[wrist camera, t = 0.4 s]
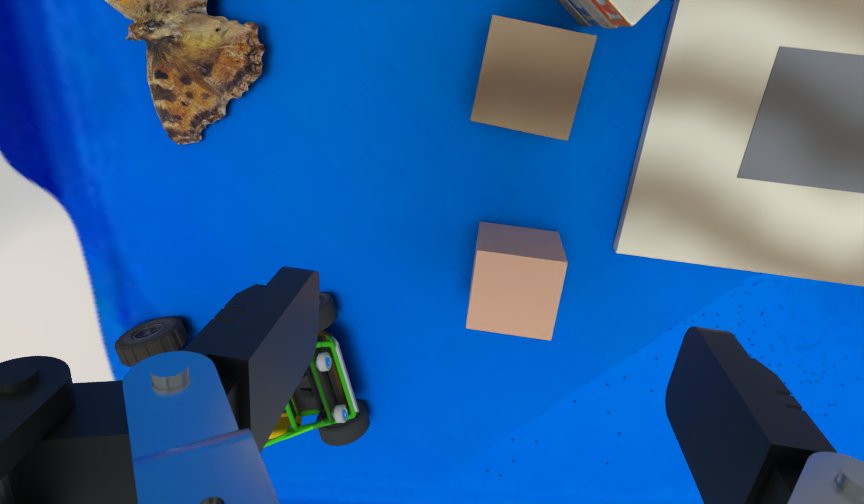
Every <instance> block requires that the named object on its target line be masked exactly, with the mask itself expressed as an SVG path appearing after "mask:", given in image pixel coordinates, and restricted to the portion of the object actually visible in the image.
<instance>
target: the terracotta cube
mask: <svg viewBox="0 0 864 504" xmlns="http://www.w3.org/2000/svg"><path fill="white" fill-rule="evenodd" d="M567 264H568V261H567V258H566V255H565V251H564V248H563V245H562V241H561V238H560V235H559V232H556V231H548V230H541V229H533V228H526V227H518V226H511V225H503V224H496V223H488V222H481V221H480V223H479V230H478V237H477V244H476V251H475V258H474V265H473V272H472V279H471V286H470V293H469V303H468V312H467V322H466V328H468V329H475V330H481V331H488V332H495V333H502V334H509V335H516V336H523V337H530V338H537V339H544V340H550V341H551V338H552V334H553V329H554V324H555V320H556V315H557V311H558V306H559V301H560V297H561V292H562V287H563V283H564V278H565V273H566V269H567Z"/></svg>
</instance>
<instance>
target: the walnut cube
mask: <svg viewBox="0 0 864 504" xmlns="http://www.w3.org/2000/svg"><path fill="white" fill-rule="evenodd" d="M596 39H597V36H595V35H590V34H585V33H580V32H575V31H570V30H565V29H560V28H556V27H551V26H546V25H541V24H536V23H531V22H526V21H521V20H516V19H511V18H506V17H501V16H496V15H492V20H491V25H490V29H489V34H488V39H487V44H486V48H485V53H484V58H483V62H482V67H481V72H480V77H479V81H478V86H477V91H476V96H475V100H474V105H473V110H472V114H471V119H470V121H475V122H480V123H484V124H489V125H494V126H499V127H503V128H508V129H513V130H518V131H523V132H527V133H532V134H537V135H542V136H547V137H551V138H556V139H561V140H566V141H568V137H569V134H570V130H571V127H572V123H573V120H574V116H575V113H576V109H577V106H578V102H579V99H580V95H581V92H582V88H583V85H584V81H585V78H586V74H587V71H588V67H589V64H590V60H591V57H592V53H593V50H594V46H595V43H596Z"/></svg>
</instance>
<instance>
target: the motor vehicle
mask: <svg viewBox="0 0 864 504" xmlns="http://www.w3.org/2000/svg"><path fill="white" fill-rule="evenodd" d="M337 316H338V313H337V310H336V306H335V303H334V300H333V297H332V295H330V294H328V293H325V292H319V320H318V339H317V345H316V349H315V353H314V356H313V358H312V360H311V362H310V364H309V366H308V368H307V370H306V371H305V373H304V375H303V377H302V379H301V381H300V382H299V384H298V386H297V388H296V390H295V391H294V393H293V395H292V397H291V399H290V401H289V402H288V404H287V406H286V408H285V410H284V411H283V413H282V415H281V417H280V419H279V421H278V422H277V424H276V426H275V428H274V430H273V431H272V433H271V435H270V437H269V439H270V440H268V441H267V442H266V444H265V446H264V448H265V447H267V446H270V445H272V444H274V443H277V442H279V441H281V440H282V441H283V440H285V439H288V438H291V437H293V436H296V435H299V434H301V433H304V432H306V431H309V430H312V429H315V428H318V430H319V433H320V436H321V439H322V440H323V442H324V443H326V444H328V445H332V446H341V445H346V444H349V443H352V442H354V441H356V440H357V439H359V438H360V437H361V436H362V435H363V434H364V433H365V432H366V431H367V429H368V427H369V424H370V420H369V417H368V413H367V410H366V407H365V404H364V403H363V402H362V401H360V400H357V399H355V396H354V392H353V389H352V386H351V383H350V379H349V376H348V373H347V369H346V366H345V363H344V360H343V356H342V353H341V350H340V347H339V343H338V341H337V340H336V339H335V338H334V337H333V335H332V334H331V333H330V332H326V331H325V330H324V329H326V328H328V327H329V326H330V325H331V324H332V323H333V322H334V321H335V320H336V318H337ZM187 340H188V334H187V331H186V329H185V326H184V324H183V321H182V319H180V318H176V317H162V318H157V319H153V320H150V321H147V322H145V323H142V324H140V325H138V326H136V327H134V328H132V329H130V330H129V331H127V332H126V333H125V334H123V335H122V336H120V337H119V340H117V341H116V342H115V350H116V352H117V354H118V356H119V358H120V360H121V363H122V364H123V365H126V366H129V367H131V366H134V365H136V364H137V363H139V362H140V361H142V360H144V359H146V358H149V357H151V356H154V355H157V354H161V353H166V352H173V351H182V350H183V349H181V350H179V348H180V347H182V346H183V345H184V344H185V342H186V341H187ZM314 414H319V415H318V417H317V420H316V422H315V423H311V424H307V425H303V426H302V416H308V415H314ZM290 427H292V428H290Z"/></svg>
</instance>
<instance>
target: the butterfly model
mask: <svg viewBox="0 0 864 504" xmlns="http://www.w3.org/2000/svg"><path fill="white" fill-rule="evenodd" d="M105 1H106V2H108V3H109V4H110V5H111V6H112V7H113V8H115V9H116V10H117V11H119V12H120V13H122V14H123V15H124V16H125V17H126V18H128V19H131V20H134V23H133V24H130V25H129V28H128V32H129V36H127V37H126V39H127V40H134V41H138V40H145V41H146V44H147V52H146V55H147V80H148V84H149V86H150V90H151V96H152V99H153V102H154V106H155V109H156V112H157V114H158V116H159V118H160V120H161V122H162V126H163V127H164V129H165V130H166V132H167V134H168V136H169V138H170V139H171V140H173V141H175V142H176V143H177V144H178V145H183V144H189V143H195V142H199V141H200V140H201V139H202V136H201V131H202V130H203V129H205V128H206V125H207V124H209V123H210V124H213V123H214V122H215V121H216V120H219V119H222V118H223V117H224V116H225V108H226V104H227V103H228V101H229V100H230V99H233V98H237V99H238V98H240V97H241V96H242V93H243V92H245V91H248V90H249V89H248V85H249V84H251V83H253V82H254V81H255V80H256V79H257V78H258V77H260V76H261V73H262V66H263V63H262V61H261V58H262V55H263V53H264V51H265V45H263V44H262V43H261V42H259V40H258V25H257V24H256V23H254V22H248V23H245V24H244V25H243V24H240V23H239V22H238V21H237V20H231V21H228V20H227V18H226V17H223V16H216V17H214V16H210V15H208V14H207V10H206V8H207V1H208V0H105ZM235 51H236V52H235ZM251 68H252V69H251ZM215 71H216V72H215ZM228 72H229V73H230V74H229V73H228ZM232 94H234V95H233V96H232ZM205 98H206V99H205ZM210 115H211V116H210ZM181 123H182V124H181Z"/></svg>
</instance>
